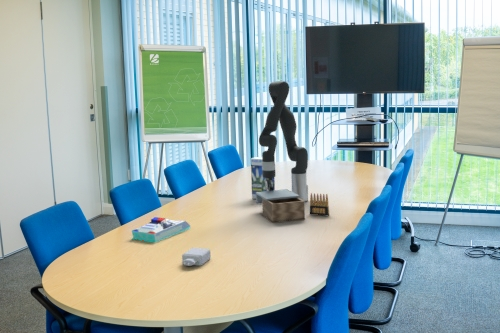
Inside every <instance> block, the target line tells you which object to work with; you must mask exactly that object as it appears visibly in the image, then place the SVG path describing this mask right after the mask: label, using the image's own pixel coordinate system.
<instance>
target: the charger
mask: <svg viewBox="0 0 500 333" xmlns="http://www.w3.org/2000/svg"><path fill="white" fill-rule="evenodd" d="M211 258H212V257H211V250H210V249H209V248H201V247H192V248H190V249H188V250H187V251H185V252H184V253H182V255H181V259H182V260H181V261H182V262H181V264H183V265H184V266H189V267H190V266H198V267H199V266H203V265H204V264H206V262H208V261H209V260H210V259H211Z"/></svg>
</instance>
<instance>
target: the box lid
mask: <svg viewBox="0 0 500 333" xmlns="http://www.w3.org/2000/svg"><path fill="white" fill-rule="evenodd" d="M297 197H299V195H297V194H296V193H294V192H292V190H290V189H287V188H285V189H276V190H273V191H262V192H256V199H255V203H256V204H259V203H262V198H263V199H265V200H266V201H268V200H278V199H288V198H297Z"/></svg>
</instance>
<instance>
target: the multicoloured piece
mask: <svg viewBox="0 0 500 333" xmlns="http://www.w3.org/2000/svg"><path fill="white" fill-rule="evenodd" d="M190 229H191V225H190V223H188V221H186V220H173V219H170V218H169V219H168V218H166V217H157V216H155V217H153V218H151V219H150V222H148V223H145V225H141V226H139V227H137V228H135V229H132V230H131V235H132V238H133V239H132V240H135V239H139V240H138V241H142V240H144V241H143V242H148V243H154V244H155V243H158V242H161V241H163V240H166V239H167V238H170V237H172V236H176V235H177V234H181V233H183V232H185V231H187V230H190Z"/></svg>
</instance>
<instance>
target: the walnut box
mask: <svg viewBox="0 0 500 333" xmlns="http://www.w3.org/2000/svg"><path fill="white" fill-rule="evenodd" d="M261 203H262V204H261V205H262V208H261V209H262V210H261V211H262V216H263V217H265V218H266V219H267V220H268V221H269V222H271V223H273V224H275V223H283V222H292V221H301V220H306V211H305V209H306V208H305V206H306V205H305V201H303V200H302V199H300V198H298V197H297V198H288V199H278V200H268V201H266V200H265V199H263V198H262V202H261Z"/></svg>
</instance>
